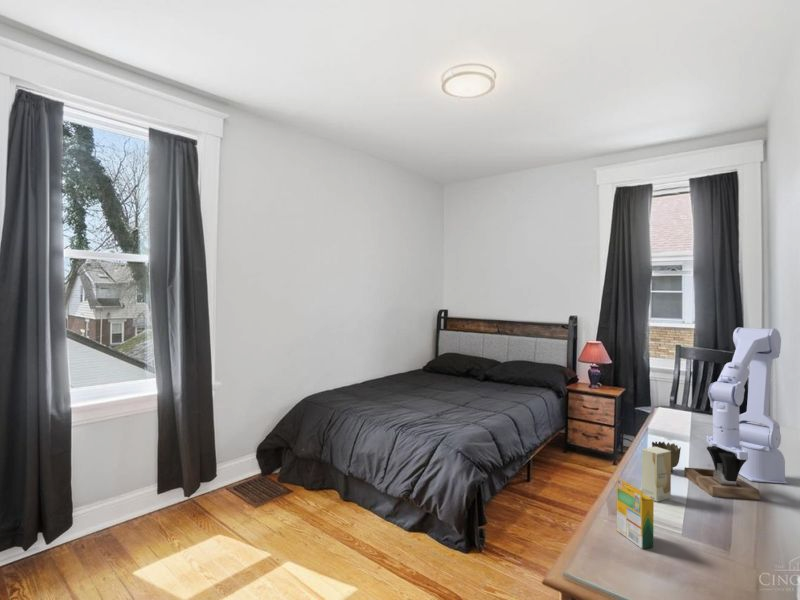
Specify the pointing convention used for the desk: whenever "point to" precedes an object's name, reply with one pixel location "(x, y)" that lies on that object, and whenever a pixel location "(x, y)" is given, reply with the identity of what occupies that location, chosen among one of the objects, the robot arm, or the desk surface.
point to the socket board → (713, 488)
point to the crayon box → (634, 514)
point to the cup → (674, 452)
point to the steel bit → (721, 476)
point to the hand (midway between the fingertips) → (726, 477)
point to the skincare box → (656, 473)
